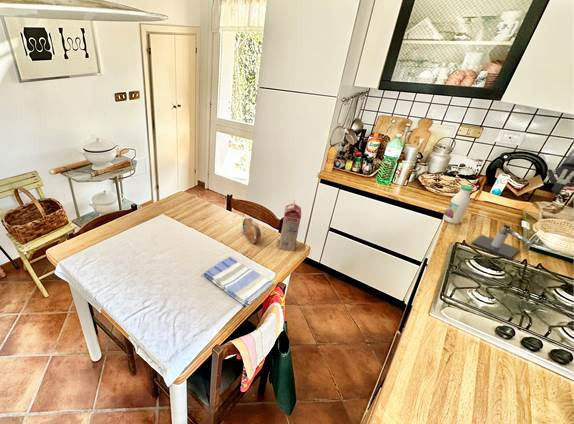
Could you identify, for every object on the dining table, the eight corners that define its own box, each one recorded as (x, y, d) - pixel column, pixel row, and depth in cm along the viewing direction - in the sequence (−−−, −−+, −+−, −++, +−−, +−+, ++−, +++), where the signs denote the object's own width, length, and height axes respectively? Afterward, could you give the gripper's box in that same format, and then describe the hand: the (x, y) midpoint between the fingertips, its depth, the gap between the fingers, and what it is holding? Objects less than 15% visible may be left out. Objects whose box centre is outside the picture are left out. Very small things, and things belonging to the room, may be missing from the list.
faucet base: (518, 251, 140) (527, 236, 136) (509, 259, 134) (519, 244, 130) (481, 236, 150) (488, 222, 146) (471, 244, 144) (479, 230, 141)
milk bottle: (457, 218, 166) (474, 185, 156) (461, 225, 160) (479, 190, 150) (441, 215, 169) (456, 182, 159) (444, 222, 162) (460, 188, 153)
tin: (241, 229, 153) (242, 215, 149) (247, 229, 154) (248, 214, 150) (254, 246, 140) (256, 231, 136) (260, 245, 141) (262, 230, 137)
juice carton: (279, 248, 140) (286, 205, 129) (279, 240, 145) (286, 199, 135) (294, 250, 138) (302, 207, 127) (294, 242, 144) (302, 201, 133)
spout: (496, 232, 140) (500, 224, 138) (502, 232, 140) (507, 224, 138) (523, 249, 128) (529, 241, 126) (531, 249, 128) (537, 241, 126)
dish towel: (247, 310, 107) (248, 304, 105) (201, 276, 122) (201, 271, 121) (276, 286, 117) (277, 281, 116) (230, 258, 132) (231, 253, 131)
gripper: (559, 151, 135) (536, 182, 135) (604, 159, 126) (579, 193, 126) (555, 160, 140) (533, 190, 140) (598, 169, 131) (574, 201, 131)
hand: (555, 191), depth 133 cm, fingers closed
